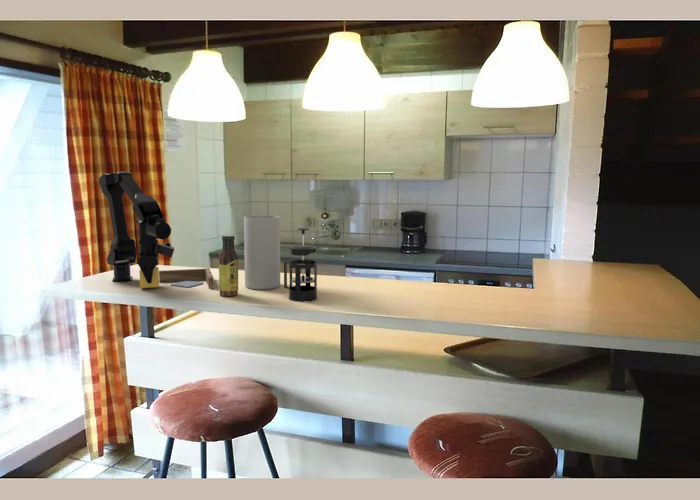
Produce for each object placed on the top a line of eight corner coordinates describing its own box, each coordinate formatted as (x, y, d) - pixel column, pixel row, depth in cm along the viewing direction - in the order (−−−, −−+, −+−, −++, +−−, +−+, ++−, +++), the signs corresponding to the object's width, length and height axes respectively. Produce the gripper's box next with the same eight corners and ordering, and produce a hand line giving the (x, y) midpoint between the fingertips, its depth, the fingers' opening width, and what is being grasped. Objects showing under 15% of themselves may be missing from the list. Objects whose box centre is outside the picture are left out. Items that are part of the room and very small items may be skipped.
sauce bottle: (233, 297, 167) (232, 237, 164) (215, 296, 168) (214, 236, 165) (241, 293, 174) (240, 234, 171) (224, 292, 175) (223, 234, 172)
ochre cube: (141, 284, 181) (140, 267, 180) (159, 283, 183) (158, 266, 182) (140, 287, 175) (139, 270, 175) (158, 286, 177) (158, 269, 177)
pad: (170, 285, 184) (170, 284, 183) (186, 281, 191) (186, 280, 191) (187, 288, 180) (187, 286, 180) (203, 283, 187) (203, 282, 187)
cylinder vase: (274, 281, 193) (273, 215, 189) (284, 288, 182) (284, 217, 178) (241, 284, 188) (240, 215, 184) (250, 291, 176) (249, 218, 173)
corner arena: (159, 281, 191) (159, 270, 190) (209, 278, 197) (209, 268, 196) (158, 291, 174) (158, 280, 173) (213, 288, 180) (213, 277, 179)
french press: (323, 296, 171) (323, 227, 167) (313, 303, 162) (313, 230, 159) (290, 293, 174) (290, 226, 171) (279, 299, 165) (278, 228, 162)
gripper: (173, 239, 171) (174, 285, 173) (172, 233, 188) (173, 275, 190) (136, 240, 167) (138, 287, 169) (139, 233, 184) (141, 276, 187)
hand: (149, 281), depth 179 cm, fingers closed on ochre cube, 6 cm apart
